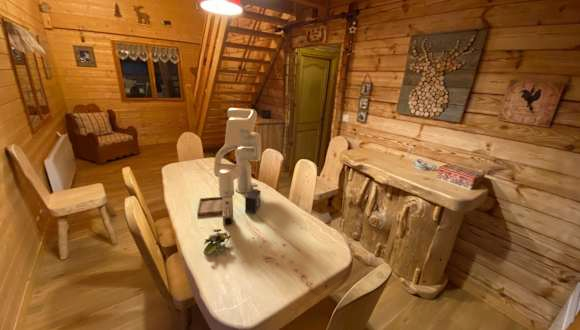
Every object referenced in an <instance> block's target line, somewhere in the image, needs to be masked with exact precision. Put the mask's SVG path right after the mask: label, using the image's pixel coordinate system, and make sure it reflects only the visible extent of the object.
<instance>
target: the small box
mask: <svg viewBox="0 0 580 330" xmlns="http://www.w3.org/2000/svg"><path fill="white" fill-rule="evenodd" d="M261 192H262V191H261V190H255V189H253V190H251V191H250V192H248V193H246V195H245V198H244V201H245V205H244V206H245V207H244V209H245V211H244V212H245V213H248V214H253V215H254V214H256V213H257V211H258V210H259V209H260V206H261Z"/></svg>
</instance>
